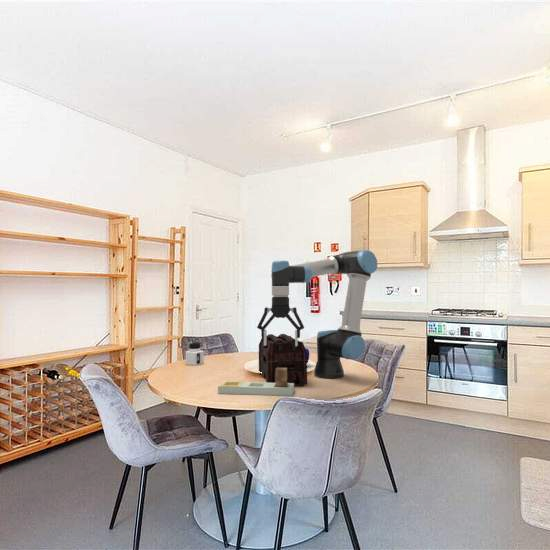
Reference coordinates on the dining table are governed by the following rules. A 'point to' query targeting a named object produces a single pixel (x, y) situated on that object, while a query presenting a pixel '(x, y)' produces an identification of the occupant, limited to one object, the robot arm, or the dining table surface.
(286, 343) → the crate
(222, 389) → the sorting tray
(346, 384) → the dining table surface
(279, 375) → the walnut block
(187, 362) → the container
